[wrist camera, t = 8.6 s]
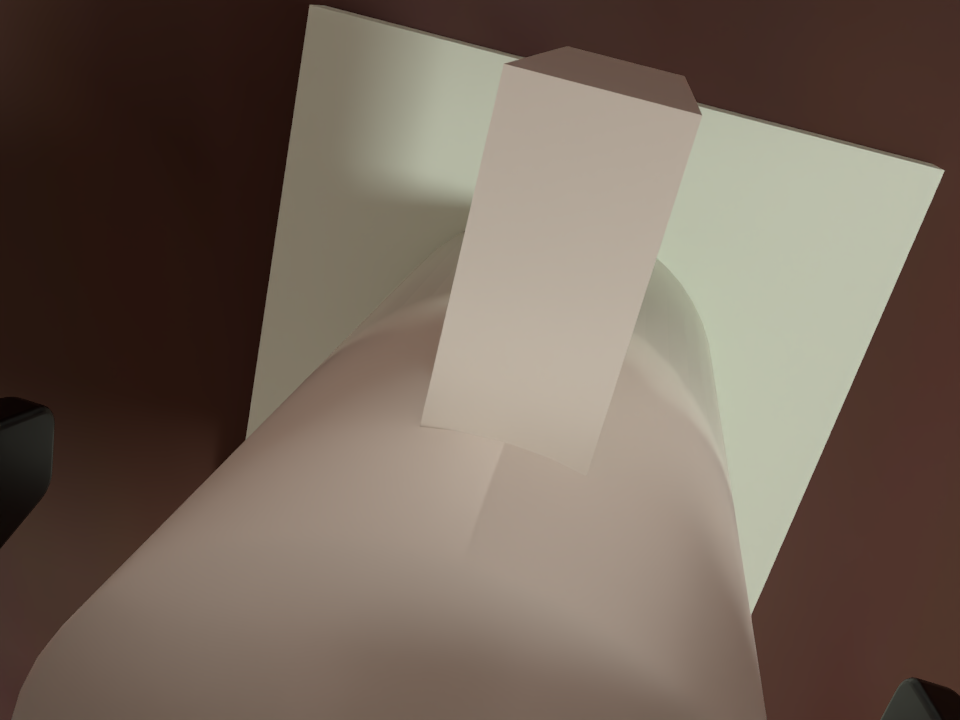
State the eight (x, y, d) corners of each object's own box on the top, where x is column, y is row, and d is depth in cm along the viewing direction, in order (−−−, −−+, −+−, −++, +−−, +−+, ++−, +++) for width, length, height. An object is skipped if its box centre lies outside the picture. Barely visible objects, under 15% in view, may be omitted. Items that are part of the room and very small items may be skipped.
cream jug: (653, 562, 15) (645, 1244, 7) (355, 471, 15) (-2, 1003, 7) (824, 99, 12) (1195, 276, 4) (451, 3, 12) (31, -32, 4)
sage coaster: (932, 164, 12) (943, 170, 12) (719, 660, 16) (721, 682, 15) (324, 5, 13) (308, 4, 13) (246, 510, 17) (233, 526, 16)
